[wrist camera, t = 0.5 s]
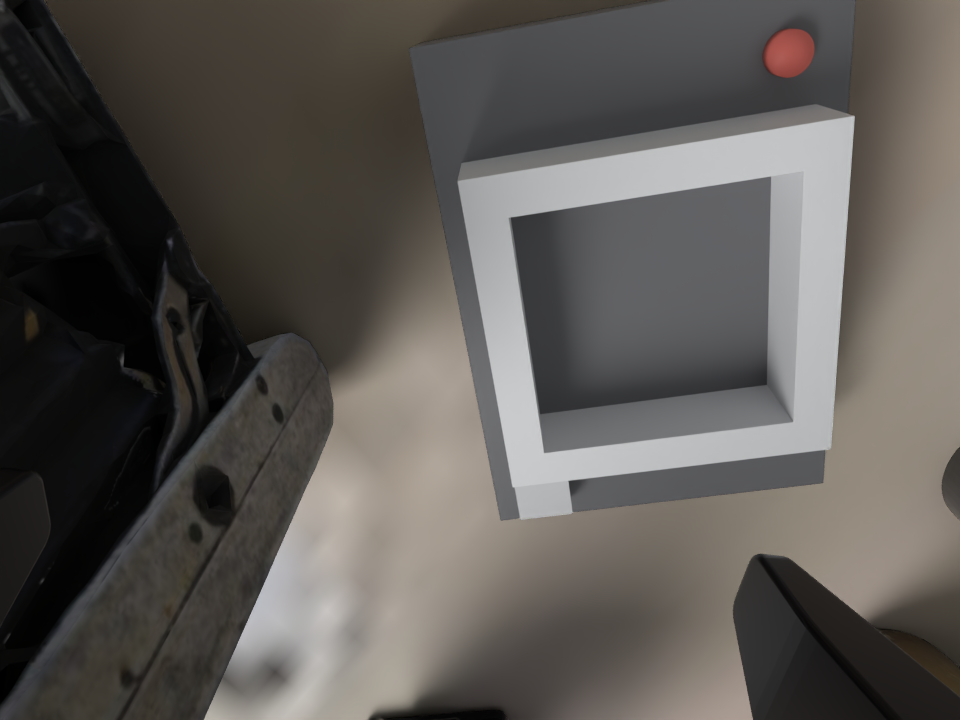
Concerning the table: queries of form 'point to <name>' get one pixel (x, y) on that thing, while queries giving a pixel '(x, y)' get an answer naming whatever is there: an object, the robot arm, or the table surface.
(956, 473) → the lens
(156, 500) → the vintage camera
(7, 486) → the robot arm
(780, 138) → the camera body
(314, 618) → the table surface
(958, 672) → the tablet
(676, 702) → the table surface
